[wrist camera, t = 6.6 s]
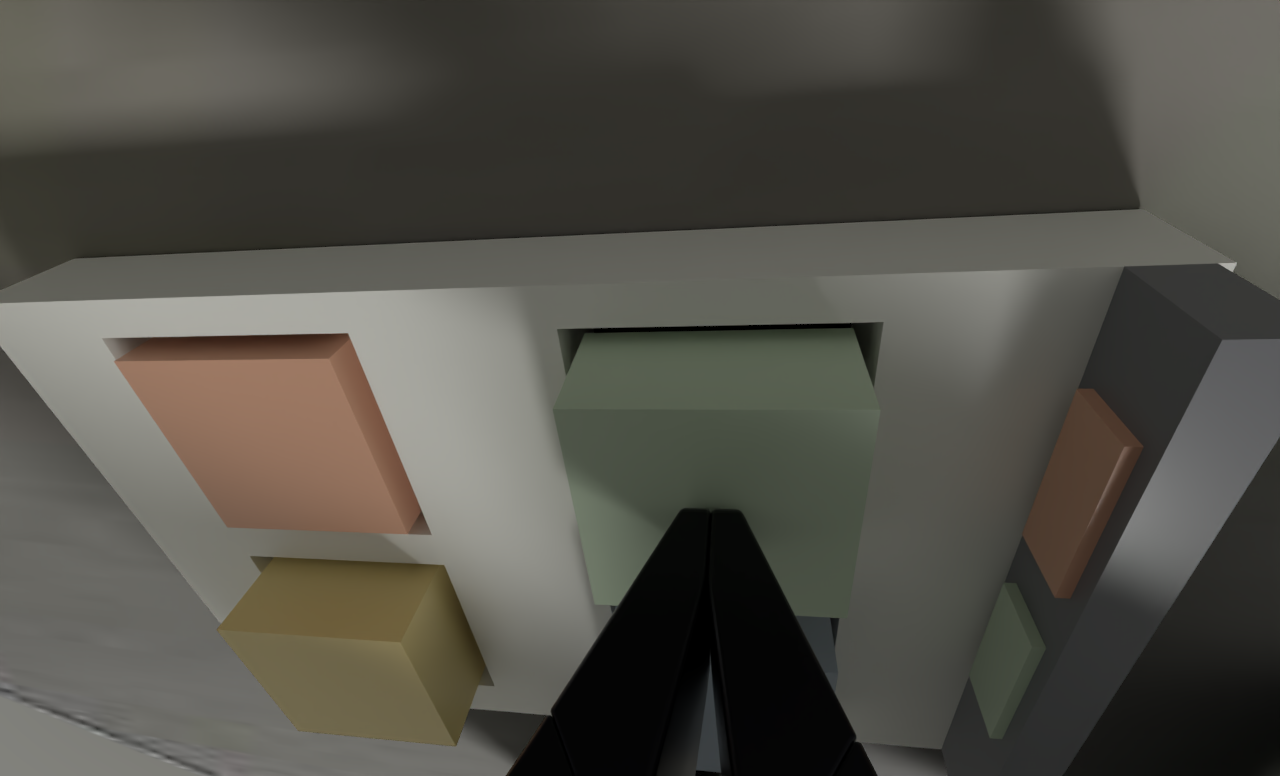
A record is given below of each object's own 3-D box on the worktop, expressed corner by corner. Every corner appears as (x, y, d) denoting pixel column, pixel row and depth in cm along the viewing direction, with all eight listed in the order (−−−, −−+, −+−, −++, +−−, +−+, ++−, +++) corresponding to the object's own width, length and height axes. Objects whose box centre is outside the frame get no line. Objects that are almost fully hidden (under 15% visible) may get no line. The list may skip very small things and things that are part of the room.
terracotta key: (287, 462, 14) (227, 527, 12) (201, 307, 12) (114, 361, 10) (448, 465, 13) (407, 534, 12) (389, 301, 11) (329, 358, 9)
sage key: (614, 515, 12) (594, 604, 10) (584, 333, 9) (552, 409, 8) (830, 521, 11) (846, 618, 9) (853, 327, 9) (881, 410, 7)
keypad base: (315, 627, 18) (230, 760, 15) (74, 258, 12) (-165, 360, 9) (969, 672, 15) (1028, 847, 12) (1143, 209, 9) (1368, 337, 6)
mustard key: (343, 653, 16) (298, 730, 14) (278, 551, 14) (216, 629, 12) (486, 663, 15) (456, 746, 14) (442, 558, 13) (400, 642, 11)
